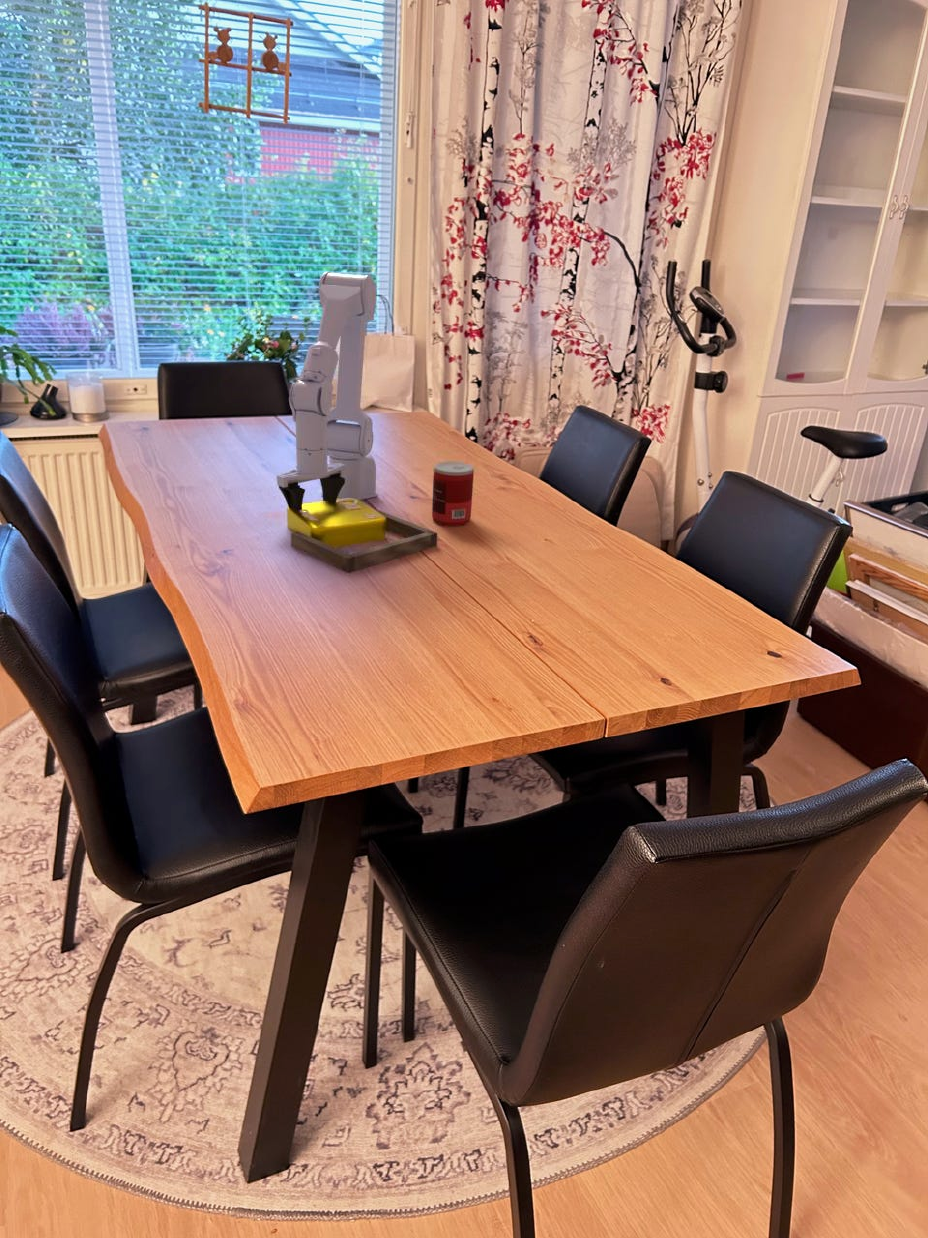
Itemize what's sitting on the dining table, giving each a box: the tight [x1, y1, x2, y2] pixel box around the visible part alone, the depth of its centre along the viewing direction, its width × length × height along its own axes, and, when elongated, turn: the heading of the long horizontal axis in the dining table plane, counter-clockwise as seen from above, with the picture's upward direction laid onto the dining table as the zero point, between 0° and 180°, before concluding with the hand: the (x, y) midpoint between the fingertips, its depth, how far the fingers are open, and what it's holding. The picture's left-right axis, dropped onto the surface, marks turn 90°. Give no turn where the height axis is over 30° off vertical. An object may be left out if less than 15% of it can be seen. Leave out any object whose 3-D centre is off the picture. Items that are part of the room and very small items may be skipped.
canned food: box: [431, 461, 475, 527], centre depth 176 cm, size 8×8×11 cm
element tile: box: [286, 498, 387, 548], centre depth 168 cm, size 15×15×5 cm
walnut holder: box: [290, 510, 438, 573], centre depth 163 cm, size 21×16×2 cm
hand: (312, 516), depth 172 cm, fingers open, 7 cm apart
